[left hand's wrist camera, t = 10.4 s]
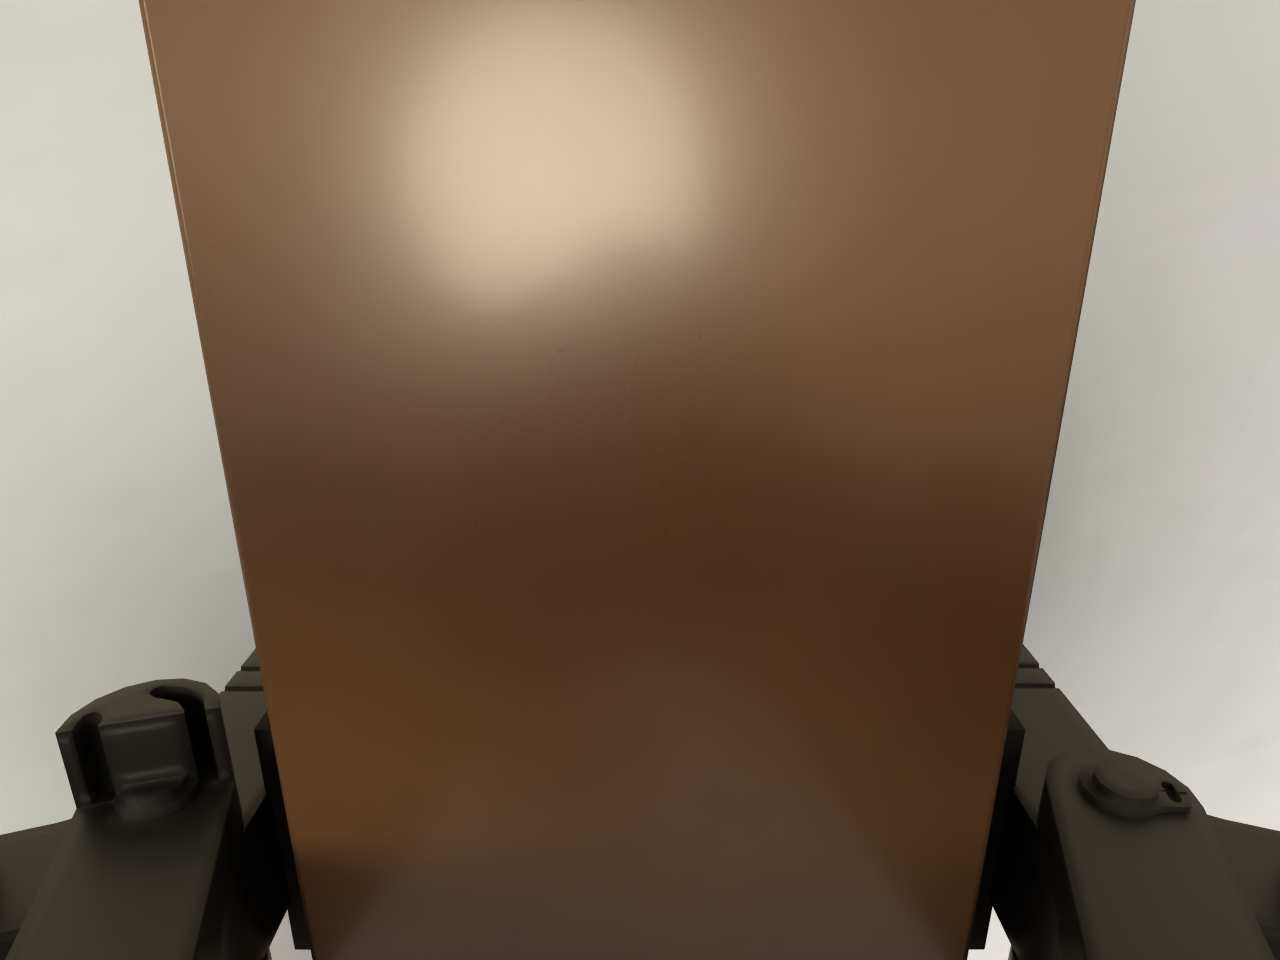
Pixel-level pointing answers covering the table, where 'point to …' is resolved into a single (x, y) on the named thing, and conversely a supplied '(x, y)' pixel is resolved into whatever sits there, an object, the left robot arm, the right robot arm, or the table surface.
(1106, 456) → the table surface
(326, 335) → the bar
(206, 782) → the left robot arm
